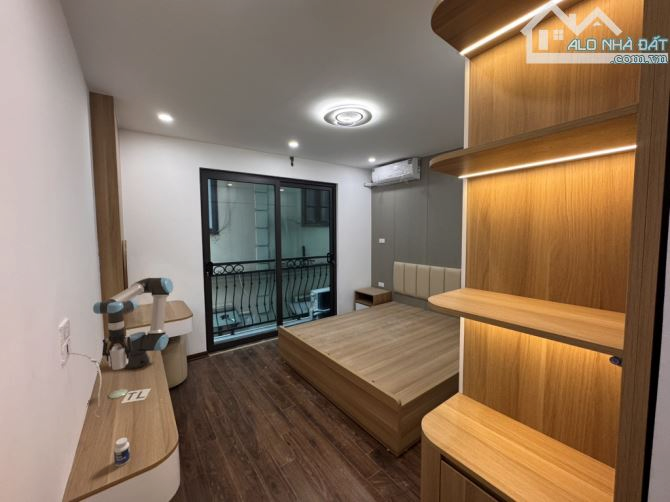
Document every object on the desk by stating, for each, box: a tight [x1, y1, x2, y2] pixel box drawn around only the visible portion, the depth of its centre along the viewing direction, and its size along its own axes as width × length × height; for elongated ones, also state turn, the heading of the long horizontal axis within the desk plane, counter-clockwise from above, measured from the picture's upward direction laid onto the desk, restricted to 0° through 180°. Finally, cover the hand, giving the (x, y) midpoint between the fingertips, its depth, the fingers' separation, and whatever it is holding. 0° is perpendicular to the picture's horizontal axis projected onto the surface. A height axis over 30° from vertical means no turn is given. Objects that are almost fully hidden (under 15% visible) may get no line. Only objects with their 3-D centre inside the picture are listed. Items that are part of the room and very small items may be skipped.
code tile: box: [120, 388, 152, 404], centre depth 168 cm, size 12×12×1 cm
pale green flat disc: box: [108, 388, 129, 400], centre depth 169 cm, size 9×9×1 cm
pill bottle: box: [113, 437, 131, 467], centre depth 120 cm, size 5×5×10 cm
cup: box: [109, 344, 126, 371], centre depth 167 cm, size 8×8×12 cm
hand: (118, 364), depth 168 cm, fingers closed on cup, 7 cm apart
